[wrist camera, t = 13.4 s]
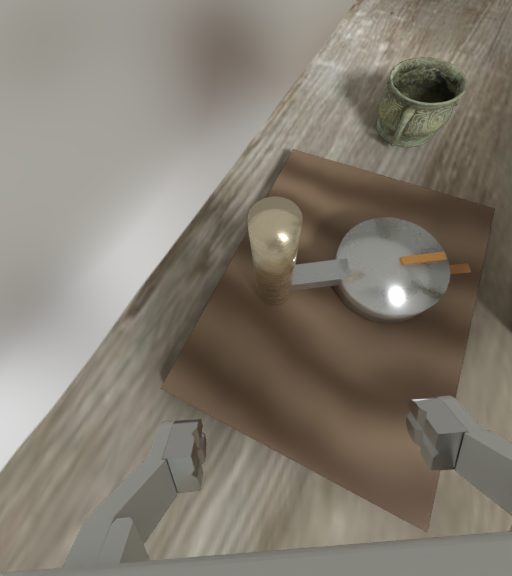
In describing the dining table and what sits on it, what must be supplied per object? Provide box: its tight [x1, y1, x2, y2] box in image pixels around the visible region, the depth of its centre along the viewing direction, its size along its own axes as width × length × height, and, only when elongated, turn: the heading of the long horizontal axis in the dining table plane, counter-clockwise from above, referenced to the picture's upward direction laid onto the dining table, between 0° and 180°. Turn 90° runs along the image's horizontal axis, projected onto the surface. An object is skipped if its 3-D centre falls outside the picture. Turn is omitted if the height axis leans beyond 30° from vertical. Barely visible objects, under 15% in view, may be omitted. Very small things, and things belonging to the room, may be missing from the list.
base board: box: [160, 149, 495, 532], centre depth 29 cm, size 32×24×2 cm
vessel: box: [376, 57, 467, 147], centre depth 36 cm, size 12×9×6 cm
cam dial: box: [247, 197, 450, 324], centre depth 23 cm, size 18×10×12 cm, turn 96°
